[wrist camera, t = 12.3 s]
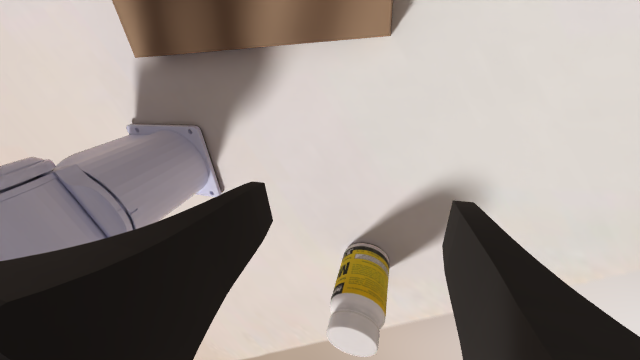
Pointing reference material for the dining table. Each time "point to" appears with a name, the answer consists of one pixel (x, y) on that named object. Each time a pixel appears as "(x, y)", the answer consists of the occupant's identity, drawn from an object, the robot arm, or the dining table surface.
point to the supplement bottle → (359, 300)
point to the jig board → (246, 23)
